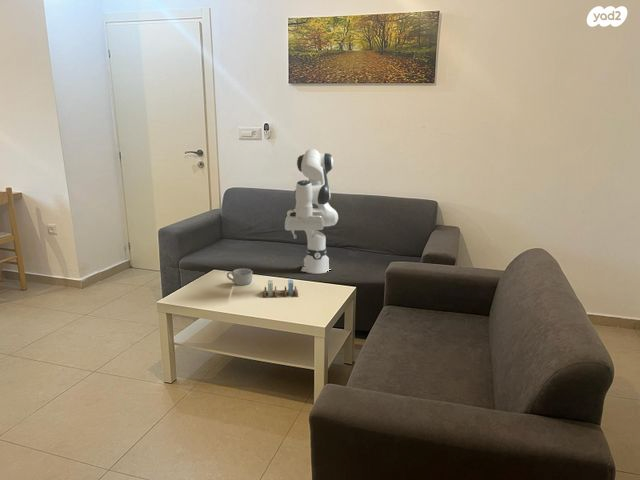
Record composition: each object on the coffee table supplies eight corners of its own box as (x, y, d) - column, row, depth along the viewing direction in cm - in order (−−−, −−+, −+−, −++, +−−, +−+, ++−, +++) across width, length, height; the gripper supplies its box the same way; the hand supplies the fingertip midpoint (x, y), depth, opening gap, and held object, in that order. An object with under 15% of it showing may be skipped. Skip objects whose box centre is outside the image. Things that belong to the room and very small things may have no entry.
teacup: (254, 282, 264) (254, 268, 262) (250, 288, 253) (249, 274, 252) (230, 281, 265) (230, 268, 264) (225, 287, 255) (224, 273, 253)
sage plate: (268, 292, 243) (268, 280, 242) (272, 292, 243) (272, 280, 242) (268, 295, 238) (267, 283, 236) (272, 295, 238) (272, 283, 236)
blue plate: (288, 292, 244) (288, 280, 243) (292, 291, 244) (292, 279, 243) (288, 295, 239) (288, 283, 237) (293, 295, 239) (293, 283, 238)
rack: (263, 292, 246) (263, 286, 245) (297, 291, 248) (297, 285, 247) (262, 299, 234) (262, 293, 234) (298, 299, 236) (298, 292, 235)
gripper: (323, 211, 246) (323, 236, 249) (284, 211, 244) (284, 237, 247) (324, 213, 240) (324, 239, 243) (284, 213, 238) (285, 240, 241)
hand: (304, 238), depth 245 cm, fingers open, 8 cm apart
